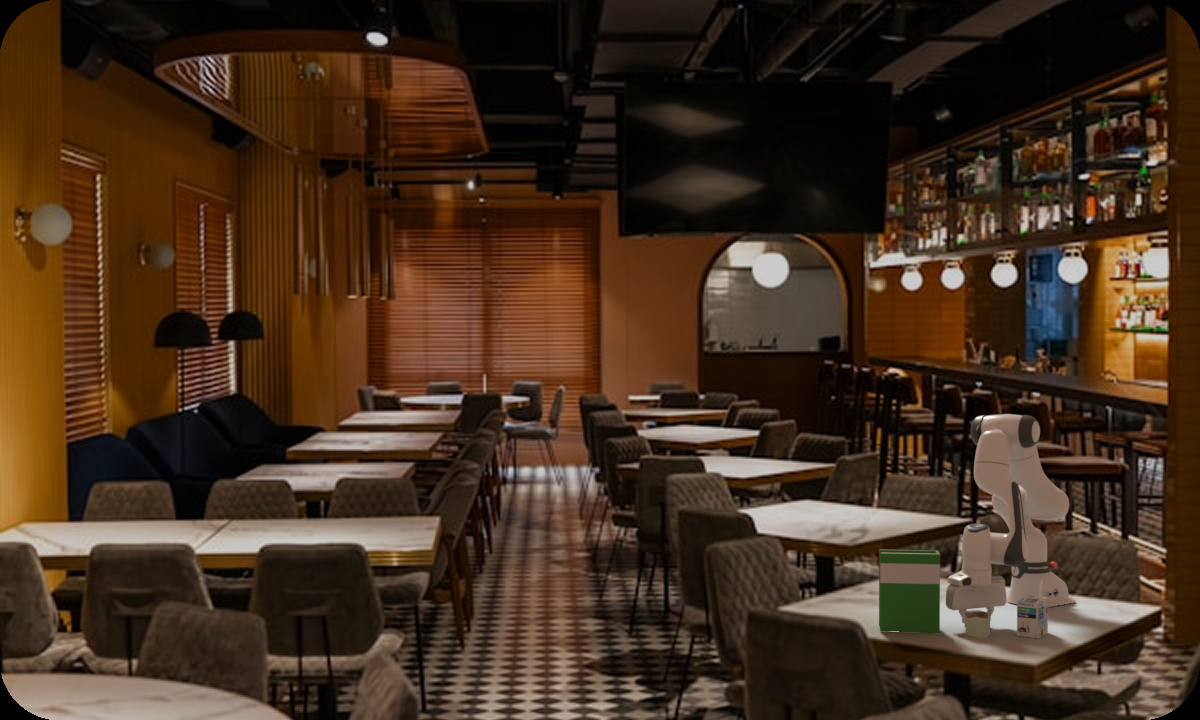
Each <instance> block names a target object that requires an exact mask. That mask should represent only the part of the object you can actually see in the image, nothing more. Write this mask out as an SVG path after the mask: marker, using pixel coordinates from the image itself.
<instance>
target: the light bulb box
mask: <svg viewBox="0 0 1200 720" xmlns="http://www.w3.org/2000/svg"><path fill="white" fill-rule="evenodd" d="M1016 609H1017V610H1016V612H1017V613H1016V636H1017V637H1023V638H1031V639H1040V638H1042V637H1043V636H1046V635H1047V634H1048V633H1049V631H1048V630H1049V628H1048V627H1049V622H1048V621H1049V619H1048V618H1049V616H1048V615H1049V607H1048V598H1045V597H1036V596H1028V595H1027V596H1025V597H1023V598H1022V599H1020V600H1018V601H1017V604H1016ZM1047 632H1048V633H1047Z"/></svg>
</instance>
